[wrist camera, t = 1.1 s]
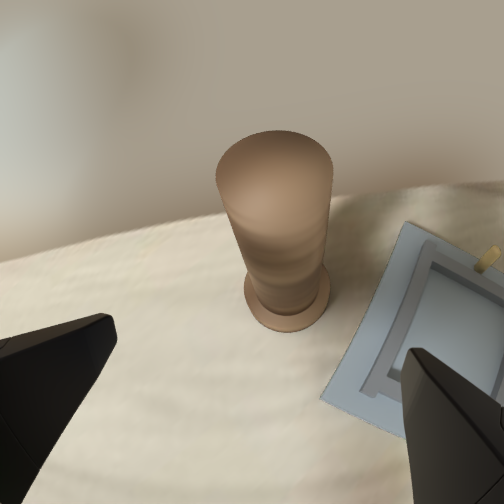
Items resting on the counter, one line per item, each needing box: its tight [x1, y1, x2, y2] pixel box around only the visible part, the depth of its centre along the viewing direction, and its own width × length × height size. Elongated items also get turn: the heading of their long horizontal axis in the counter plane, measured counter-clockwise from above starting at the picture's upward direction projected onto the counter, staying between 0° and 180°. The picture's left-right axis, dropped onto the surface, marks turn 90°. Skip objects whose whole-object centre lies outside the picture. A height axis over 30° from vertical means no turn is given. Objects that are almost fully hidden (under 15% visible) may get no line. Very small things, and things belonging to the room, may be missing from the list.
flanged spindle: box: [216, 130, 333, 333], centre depth 17 cm, size 6×6×13 cm
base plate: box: [319, 221, 504, 440], centre depth 16 cm, size 15×15×4 cm
